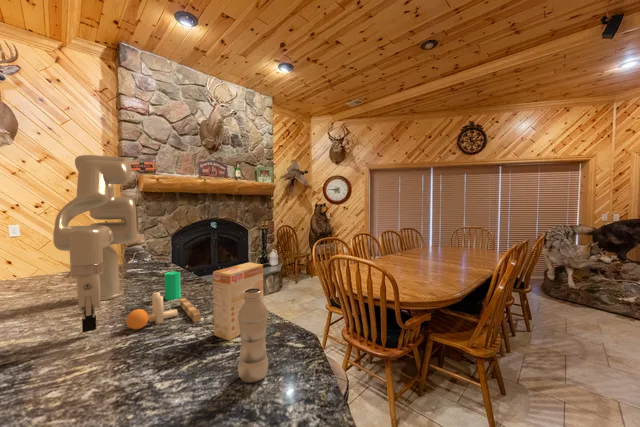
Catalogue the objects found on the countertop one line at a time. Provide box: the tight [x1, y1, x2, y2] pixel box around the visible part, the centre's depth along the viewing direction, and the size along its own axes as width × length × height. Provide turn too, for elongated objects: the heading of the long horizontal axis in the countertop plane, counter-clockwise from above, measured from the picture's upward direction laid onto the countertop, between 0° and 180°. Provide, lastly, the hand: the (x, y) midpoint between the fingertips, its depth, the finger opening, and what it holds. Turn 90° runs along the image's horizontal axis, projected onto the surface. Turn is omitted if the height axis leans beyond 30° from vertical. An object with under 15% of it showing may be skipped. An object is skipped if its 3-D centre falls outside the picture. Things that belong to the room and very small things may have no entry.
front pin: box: [148, 308, 179, 323], centre depth 96 cm, size 2×2×8 cm
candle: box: [163, 270, 182, 301], centre depth 118 cm, size 6×6×12 cm
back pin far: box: [151, 291, 161, 314], centre depth 97 cm, size 2×2×8 cm
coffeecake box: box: [212, 262, 265, 341], centre depth 88 cm, size 15×7×20 cm, turn 149°
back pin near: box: [154, 295, 165, 325], centre depth 93 cm, size 2×2×8 cm
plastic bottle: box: [237, 288, 269, 384], centre depth 63 cm, size 6×7×20 cm
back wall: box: [179, 297, 201, 323], centre depth 102 cm, size 20×2×2 cm, turn 39°
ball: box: [125, 308, 150, 330], centre depth 89 cm, size 6×6×6 cm
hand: (89, 330), depth 84 cm, fingers closed
